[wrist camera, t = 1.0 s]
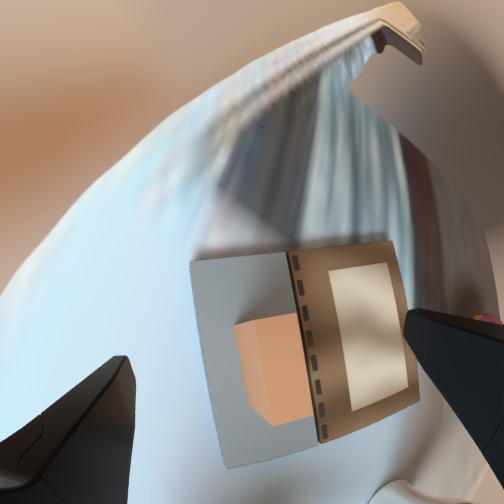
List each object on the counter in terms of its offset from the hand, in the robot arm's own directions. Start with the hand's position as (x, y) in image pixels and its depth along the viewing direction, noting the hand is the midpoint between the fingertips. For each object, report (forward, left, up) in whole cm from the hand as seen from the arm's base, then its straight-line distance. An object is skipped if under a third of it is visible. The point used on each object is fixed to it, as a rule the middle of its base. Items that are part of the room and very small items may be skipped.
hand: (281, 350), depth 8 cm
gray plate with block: (-2, -2, -14) cm, 15 cm away
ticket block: (-2, -12, -14) cm, 19 cm away
